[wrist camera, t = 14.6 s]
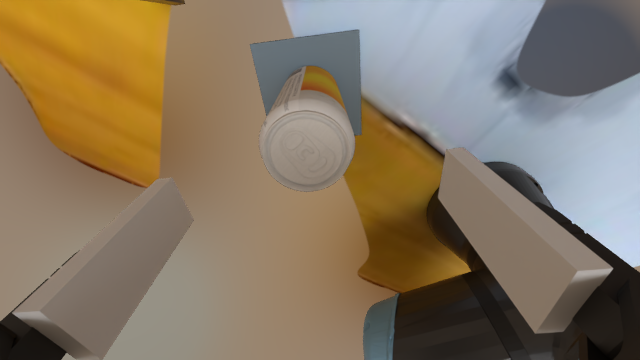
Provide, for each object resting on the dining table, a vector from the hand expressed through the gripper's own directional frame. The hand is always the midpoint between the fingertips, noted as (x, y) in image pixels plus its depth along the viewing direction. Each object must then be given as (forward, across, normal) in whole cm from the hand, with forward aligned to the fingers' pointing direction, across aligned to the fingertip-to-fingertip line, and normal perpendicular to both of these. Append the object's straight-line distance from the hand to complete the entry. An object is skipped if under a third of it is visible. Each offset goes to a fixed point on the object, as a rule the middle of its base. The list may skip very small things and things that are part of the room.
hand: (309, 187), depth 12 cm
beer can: (+18, 0, -1) cm, 18 cm away
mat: (+19, 0, -1) cm, 19 cm away
